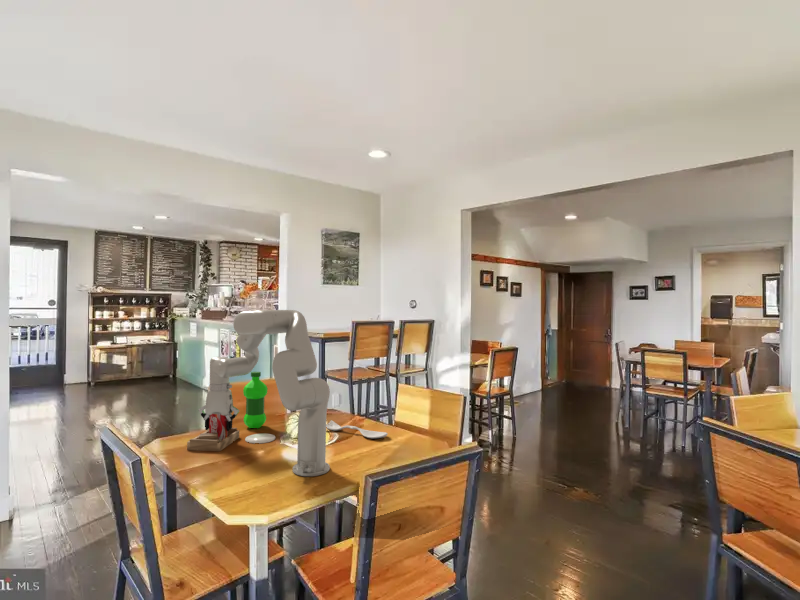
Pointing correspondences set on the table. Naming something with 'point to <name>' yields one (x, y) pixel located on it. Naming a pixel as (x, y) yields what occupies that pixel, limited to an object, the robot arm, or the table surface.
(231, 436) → the brown shallow rectangular box
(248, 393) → the plastic bottle
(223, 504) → the table surface
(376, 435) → the spoon
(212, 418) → the soda can
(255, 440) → the saucer
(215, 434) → the offcut short
